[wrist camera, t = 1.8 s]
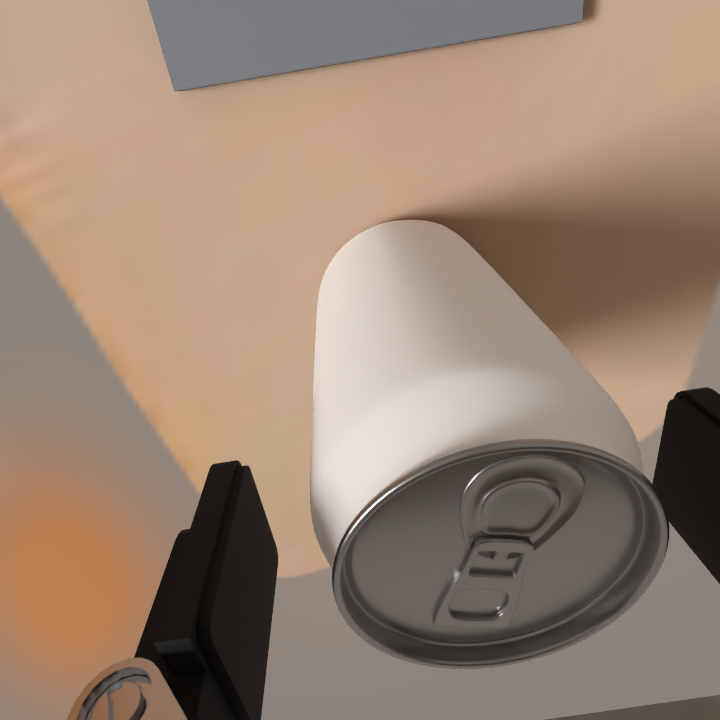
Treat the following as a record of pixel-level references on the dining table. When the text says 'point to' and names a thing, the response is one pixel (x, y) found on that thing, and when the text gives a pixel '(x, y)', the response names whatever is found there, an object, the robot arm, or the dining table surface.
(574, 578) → the can
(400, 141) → the dining table surface
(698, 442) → the robot arm
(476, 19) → the mat
